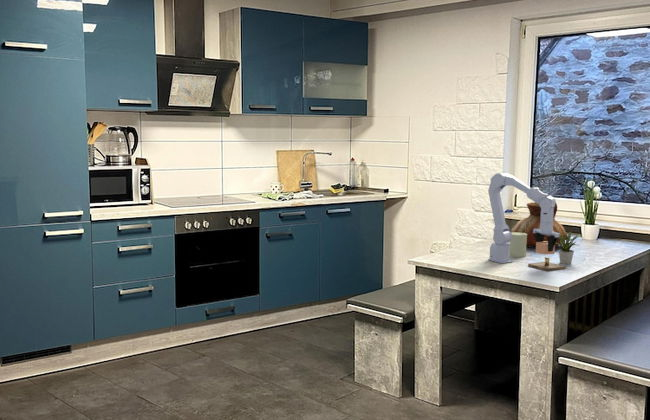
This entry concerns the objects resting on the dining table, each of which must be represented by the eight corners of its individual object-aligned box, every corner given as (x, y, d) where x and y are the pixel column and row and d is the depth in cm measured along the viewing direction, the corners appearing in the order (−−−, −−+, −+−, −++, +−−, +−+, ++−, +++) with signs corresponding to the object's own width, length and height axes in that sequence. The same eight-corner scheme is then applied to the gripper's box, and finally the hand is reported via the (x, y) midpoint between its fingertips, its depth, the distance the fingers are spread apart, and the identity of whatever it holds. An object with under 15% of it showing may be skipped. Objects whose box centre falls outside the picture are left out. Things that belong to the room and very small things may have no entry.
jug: (559, 252, 352) (561, 206, 348) (503, 246, 367) (505, 202, 364) (570, 244, 377) (573, 201, 374) (518, 239, 393) (520, 197, 389)
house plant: (585, 267, 317) (587, 233, 314) (554, 266, 319) (556, 232, 317) (579, 261, 330) (581, 229, 328) (550, 260, 333) (552, 228, 331)
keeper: (528, 266, 318) (528, 256, 317) (546, 263, 324) (546, 254, 323) (547, 271, 307) (547, 261, 307) (565, 268, 313) (566, 259, 312)
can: (521, 258, 337) (522, 234, 336) (504, 255, 343) (505, 232, 342) (529, 255, 344) (530, 232, 342) (512, 253, 350) (513, 230, 349)
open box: (535, 252, 316) (536, 242, 315) (544, 251, 318) (545, 241, 318) (545, 254, 310) (545, 244, 310) (554, 253, 313) (554, 243, 312)
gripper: (529, 220, 317) (527, 248, 319) (552, 224, 304) (550, 253, 306) (539, 219, 320) (538, 247, 322) (563, 223, 307) (561, 252, 309)
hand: (545, 250), depth 314 cm, fingers closed on open box, 6 cm apart
